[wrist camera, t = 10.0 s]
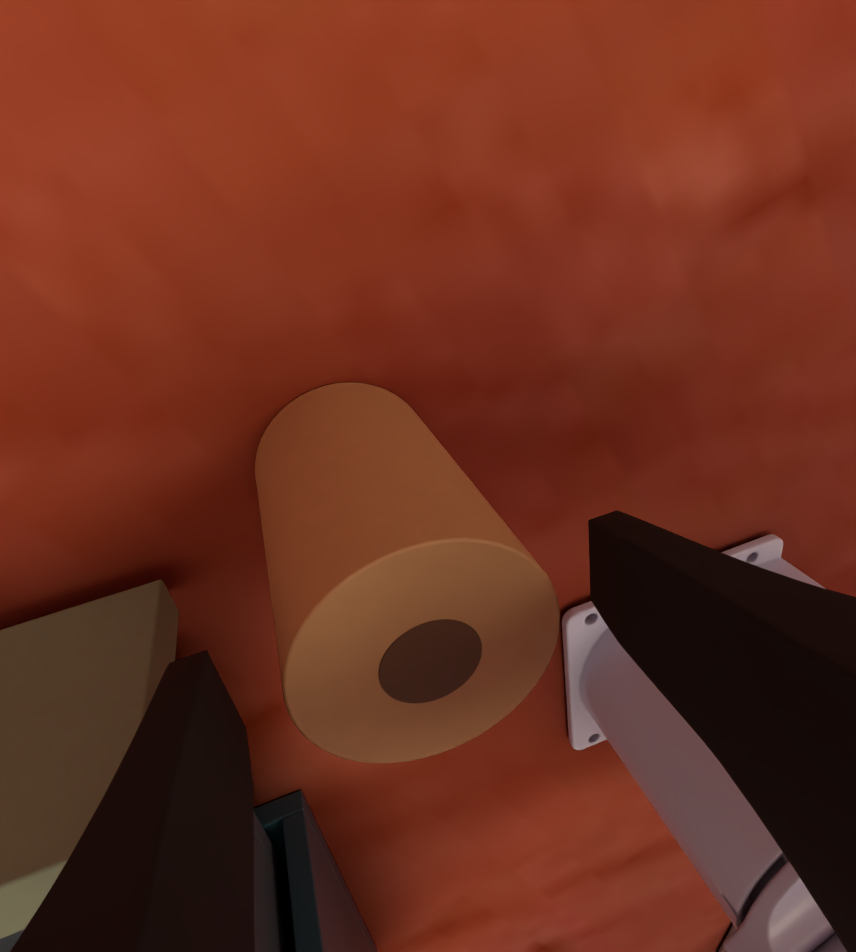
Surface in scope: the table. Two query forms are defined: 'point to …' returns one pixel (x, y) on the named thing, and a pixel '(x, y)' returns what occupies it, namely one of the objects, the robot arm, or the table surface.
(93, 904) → the robot arm
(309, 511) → the paper roll
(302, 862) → the cabinet
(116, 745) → the drawer
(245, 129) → the table surface
